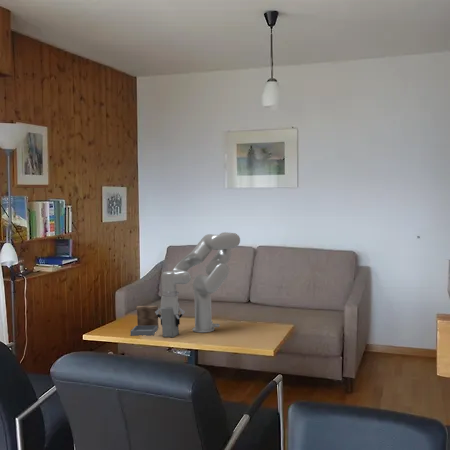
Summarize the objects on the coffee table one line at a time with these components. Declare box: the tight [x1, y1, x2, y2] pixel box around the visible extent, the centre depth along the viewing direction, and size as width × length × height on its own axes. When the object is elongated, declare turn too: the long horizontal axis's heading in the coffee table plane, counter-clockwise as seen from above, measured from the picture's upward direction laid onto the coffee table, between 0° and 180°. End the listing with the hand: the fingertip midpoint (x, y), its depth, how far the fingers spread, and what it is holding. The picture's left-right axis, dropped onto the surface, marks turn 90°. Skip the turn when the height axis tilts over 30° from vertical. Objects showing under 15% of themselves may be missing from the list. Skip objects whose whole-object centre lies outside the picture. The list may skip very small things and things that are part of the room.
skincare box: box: [161, 308, 180, 338], centre depth 299 cm, size 8×7×16 cm
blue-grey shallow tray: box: [130, 325, 159, 337], centre depth 307 cm, size 13×14×2 cm
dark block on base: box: [135, 305, 159, 329], centre depth 316 cm, size 12×4×13 cm, turn 86°
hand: (170, 325), depth 299 cm, fingers closed on skincare box, 7 cm apart
